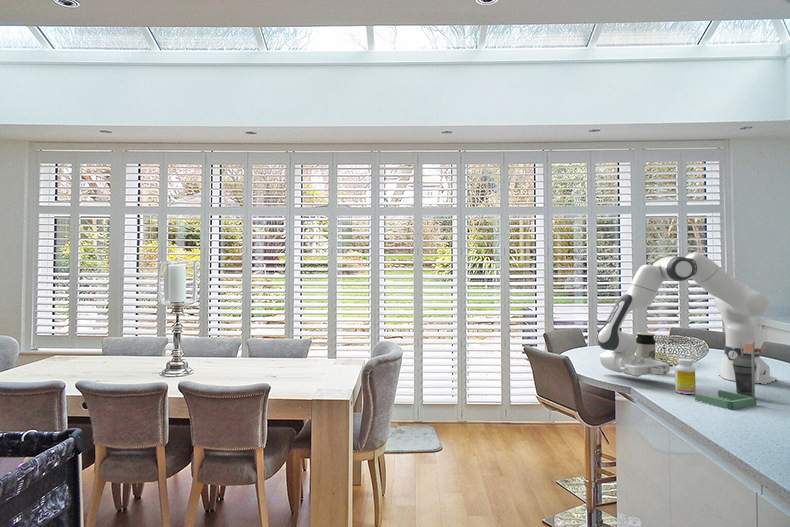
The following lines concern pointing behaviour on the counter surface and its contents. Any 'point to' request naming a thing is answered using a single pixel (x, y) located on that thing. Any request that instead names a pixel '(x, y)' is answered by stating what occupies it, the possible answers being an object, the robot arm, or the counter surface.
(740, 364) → the beverage cup
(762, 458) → the counter surface
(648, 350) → the travel mug
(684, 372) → the supplement bottle
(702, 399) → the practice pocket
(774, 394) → the counter surface
